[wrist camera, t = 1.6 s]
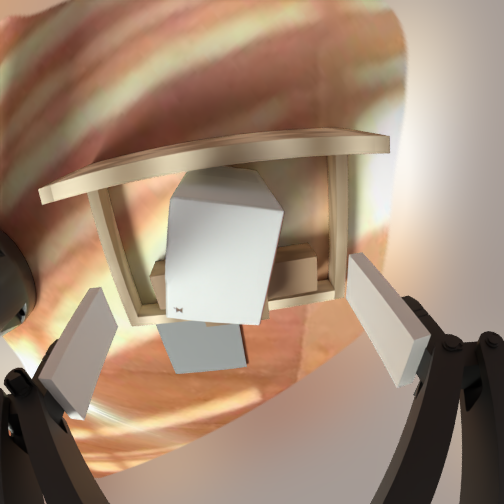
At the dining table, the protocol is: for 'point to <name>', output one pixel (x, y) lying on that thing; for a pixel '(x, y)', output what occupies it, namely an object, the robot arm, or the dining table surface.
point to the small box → (221, 246)
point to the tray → (214, 155)
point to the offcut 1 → (159, 283)
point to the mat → (202, 346)
